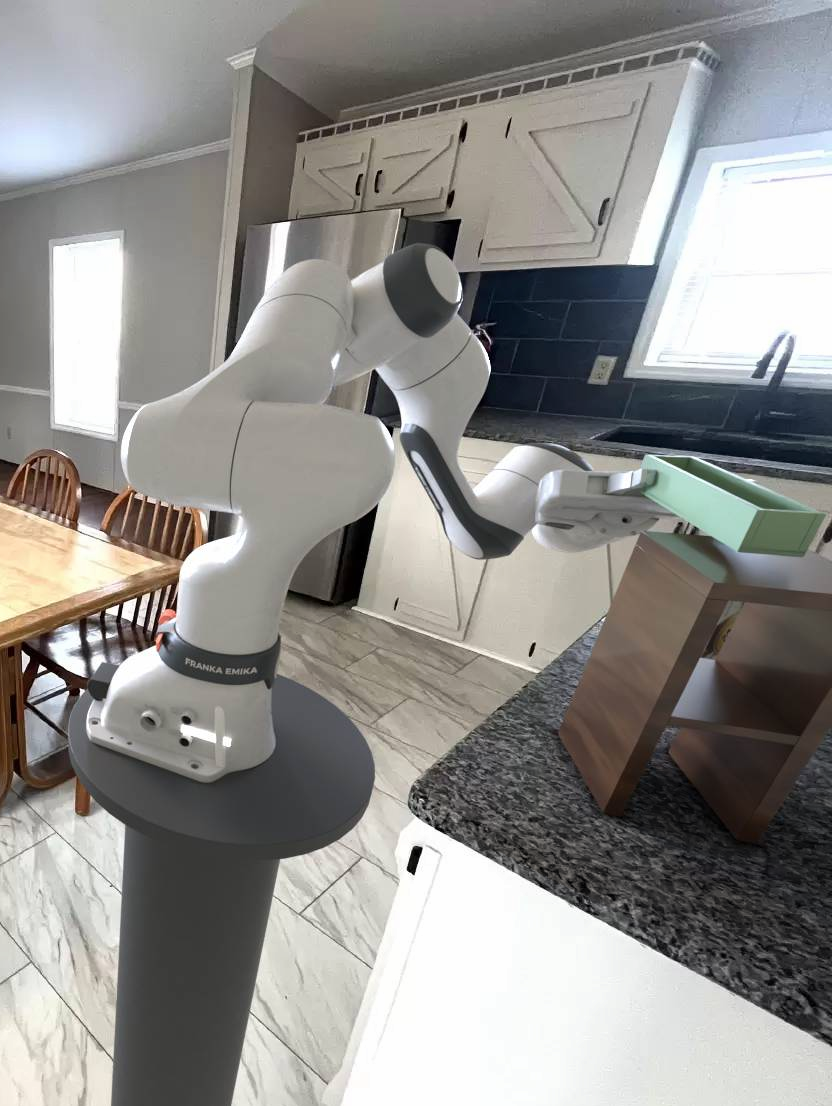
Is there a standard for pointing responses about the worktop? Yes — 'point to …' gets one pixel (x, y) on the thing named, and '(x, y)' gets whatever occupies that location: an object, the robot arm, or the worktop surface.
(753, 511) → the storage tray
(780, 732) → the shelf stand
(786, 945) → the worktop surface
